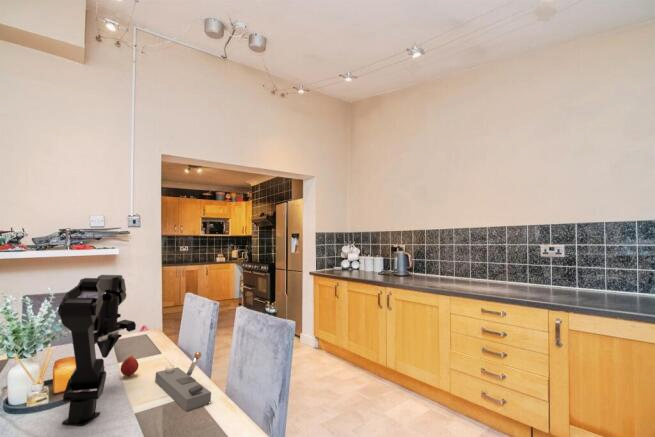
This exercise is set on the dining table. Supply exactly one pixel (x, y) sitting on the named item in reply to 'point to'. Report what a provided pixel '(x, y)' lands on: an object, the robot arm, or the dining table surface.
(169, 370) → the push button
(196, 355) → the toggle lever
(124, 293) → the robot arm
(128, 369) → the onion
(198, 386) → the rocker
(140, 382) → the dining table surface
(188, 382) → the switch panel
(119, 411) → the dining table surface
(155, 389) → the dining table surface
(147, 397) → the dining table surface
